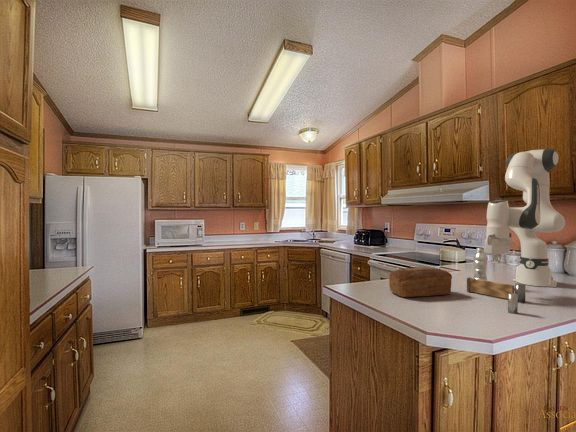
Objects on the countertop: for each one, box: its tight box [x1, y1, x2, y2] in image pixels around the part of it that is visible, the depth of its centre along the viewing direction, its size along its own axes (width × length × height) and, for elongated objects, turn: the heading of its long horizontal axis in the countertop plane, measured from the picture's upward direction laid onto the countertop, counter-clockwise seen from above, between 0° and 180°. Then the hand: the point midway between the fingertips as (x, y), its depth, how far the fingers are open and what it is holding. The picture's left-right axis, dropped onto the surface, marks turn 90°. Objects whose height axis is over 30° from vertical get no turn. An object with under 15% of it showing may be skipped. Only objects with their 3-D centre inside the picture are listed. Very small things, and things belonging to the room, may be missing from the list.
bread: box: [388, 266, 453, 298], centre depth 143 cm, size 14×28×12 cm, turn 103°
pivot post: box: [514, 282, 526, 304], centre depth 131 cm, size 4×4×8 cm
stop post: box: [507, 293, 519, 315], centre depth 117 cm, size 3×3×7 cm
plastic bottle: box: [472, 247, 489, 281], centre depth 158 cm, size 6×7×20 cm
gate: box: [466, 277, 515, 300], centre depth 140 cm, size 18×2×6 cm, turn 36°
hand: (496, 263), depth 143 cm, fingers closed
